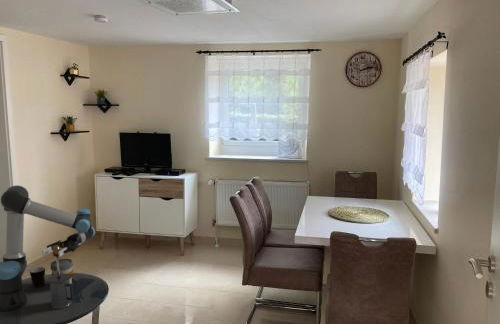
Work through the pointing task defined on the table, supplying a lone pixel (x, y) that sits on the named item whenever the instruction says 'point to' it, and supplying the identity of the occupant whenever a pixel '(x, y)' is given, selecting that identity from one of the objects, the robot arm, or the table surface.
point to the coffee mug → (38, 276)
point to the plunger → (55, 253)
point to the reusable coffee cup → (63, 267)
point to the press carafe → (60, 290)
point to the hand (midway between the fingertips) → (51, 253)
